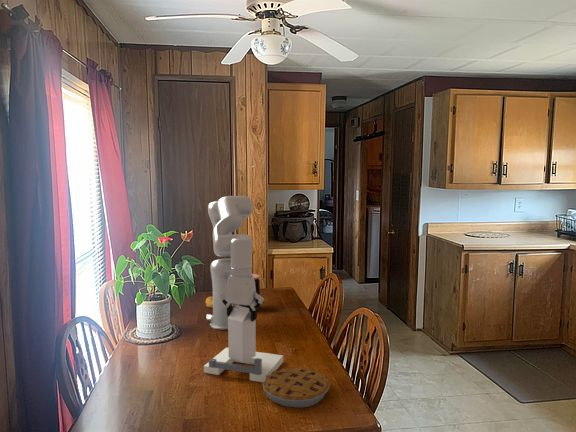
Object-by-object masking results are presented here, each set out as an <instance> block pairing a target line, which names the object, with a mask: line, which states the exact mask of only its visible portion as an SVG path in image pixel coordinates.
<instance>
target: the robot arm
mask: <svg viewBox="0 0 576 432" xmlns="http://www.w3.org/2000/svg"><path fill="white" fill-rule="evenodd" d="M253 205H254V204H253V201H252V200H251V198H250V197H249V196H247V195H227V196H226V195H225V196H222V197H221V198H220V199H218V200H215V201H212V202H210V203H209V204H208V206H207V212H208V216H209V219H210V222H211V224H212V242H213V245H212V246H213V253H214V255H215V256H217V257H221V258H219V259H215V260H213V261H211V262H210V267H209V268H210V276H211V283H212V297H213V308H212V314H208V313H207V314H206V315H205V316H206V318H205V320H206V321H210V323H209V326H210V329H211V328H212V329H215V330H228V317H229V316H230V314H231V312H232V311H233V309H234V305H238V306H239V305H250V307H251V308H252V310H251V321H252V322H253V321H254V320H257V317H258V311H257V309H258V308H259V307H261V306H262V305H263V302H264V300H265V298H264V297H263V296H261V295H259V294H257V293H256V287H255V281H254V276H253V275H252V274H253V262H252V261H253V259H252V256H253V255H252V253H253V247H254V246H253V244H254V243H253V239H252V238H251V235H249V234H245V233H240V234H233V232H236V231H238V230H239V229H240V228H241V227H242V224H243V220H247V218H249V217H250V216H251V215H252V214H253V210H254V206H253ZM223 257H230V258H223ZM256 299H258V300H259V302H258V303H257V304H256V302H255V301H256ZM259 309H260V308H259Z"/></svg>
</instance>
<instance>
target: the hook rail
mask: <svg viewBox="0 0 576 432" xmlns="http://www.w3.org/2000/svg"><path fill="white" fill-rule="evenodd" d="M208 362H209V367H211V368H220V369H225V370H229V371H234V372H241V373H248V374H250V373H252V374H255V375H260V374H261V373H262V359H259V358H256V359H255V360H254V365H253V366H251V365H249V366H248V365H243V364H237V363H233V362H232V363H225V362H218V361H216V359H213V357H212V358H209V359H208Z"/></svg>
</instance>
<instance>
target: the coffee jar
mask: <svg viewBox="0 0 576 432" xmlns="http://www.w3.org/2000/svg"><path fill="white" fill-rule="evenodd" d="M252 275H253V276H254V281H255V287H256V293H257V294H259V295H260V294H261V291H260V290H261V286H260V285H261V282H260V281H261V280H260V275H259V274H257V273H252ZM260 296H261V295H260ZM255 302H256V304H257V303H258V302H259V300H258V299H256V301H255ZM238 306H242V307H246V308H249V311H250V312H251V310H252V308H251V307H250V305H239V304H238ZM260 307H261V306H260ZM260 307H259V308H258V309H257V312H258V311H259V309H260Z"/></svg>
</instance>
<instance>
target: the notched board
mask: <svg viewBox="0 0 576 432" xmlns="http://www.w3.org/2000/svg"><path fill="white" fill-rule="evenodd" d="M256 358H259V359H262V373H261V374H260V375H255V374H252V373H249V381H252V382H258V383H259V382H260V383H264V381H265V380H266V377H267V376H269V375H271V373H272V372H273V371H277V369H279V368H280V366H281V365H282V364H283V363H284V355H282V354H275V353H268V352H260V351H256V356H254V357H252V358H250V359H248V360H246V361H244V362H240V361H237V360H234V359H231V358H229V355H228V347H225V348H224V349H223V350H221V351H219V353H218V354H217V355H215V356H214V357H212V359H216V361H218V362H225V363H232V364H233V363H234V362H235V363H240V364H241V363H242V364H248V365H253V366H254V360H255V359H256ZM225 370H226V369H220V368H211V367H209V361H208V362H207V363H205V364H204V365H203V373H204V374H211V375H216V376H219V375H220V374H221V373H223V372H224V371H225Z"/></svg>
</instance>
